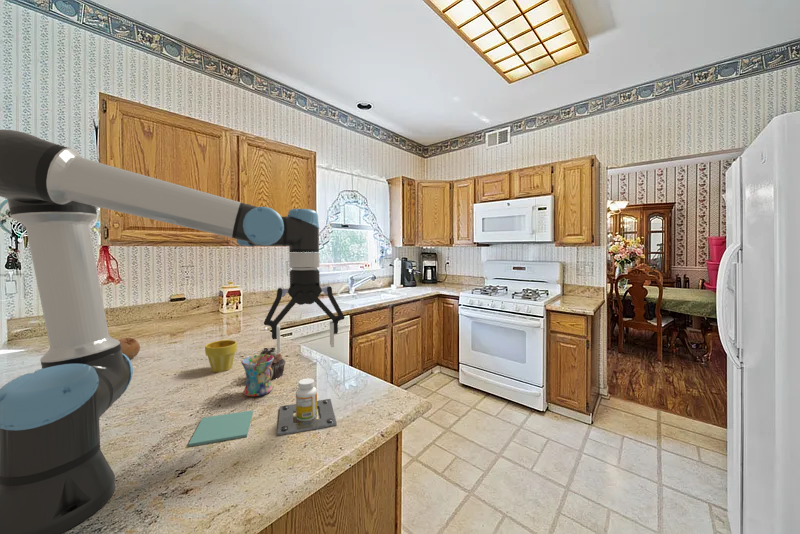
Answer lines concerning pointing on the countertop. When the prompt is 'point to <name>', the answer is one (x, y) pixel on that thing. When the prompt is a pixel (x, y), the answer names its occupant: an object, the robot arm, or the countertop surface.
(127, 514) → the countertop surface
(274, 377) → the cupcake
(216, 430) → the mat
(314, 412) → the supplement bottle
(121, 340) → the brown oval lump
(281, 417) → the flange plate
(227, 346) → the plant pot
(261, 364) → the mug
